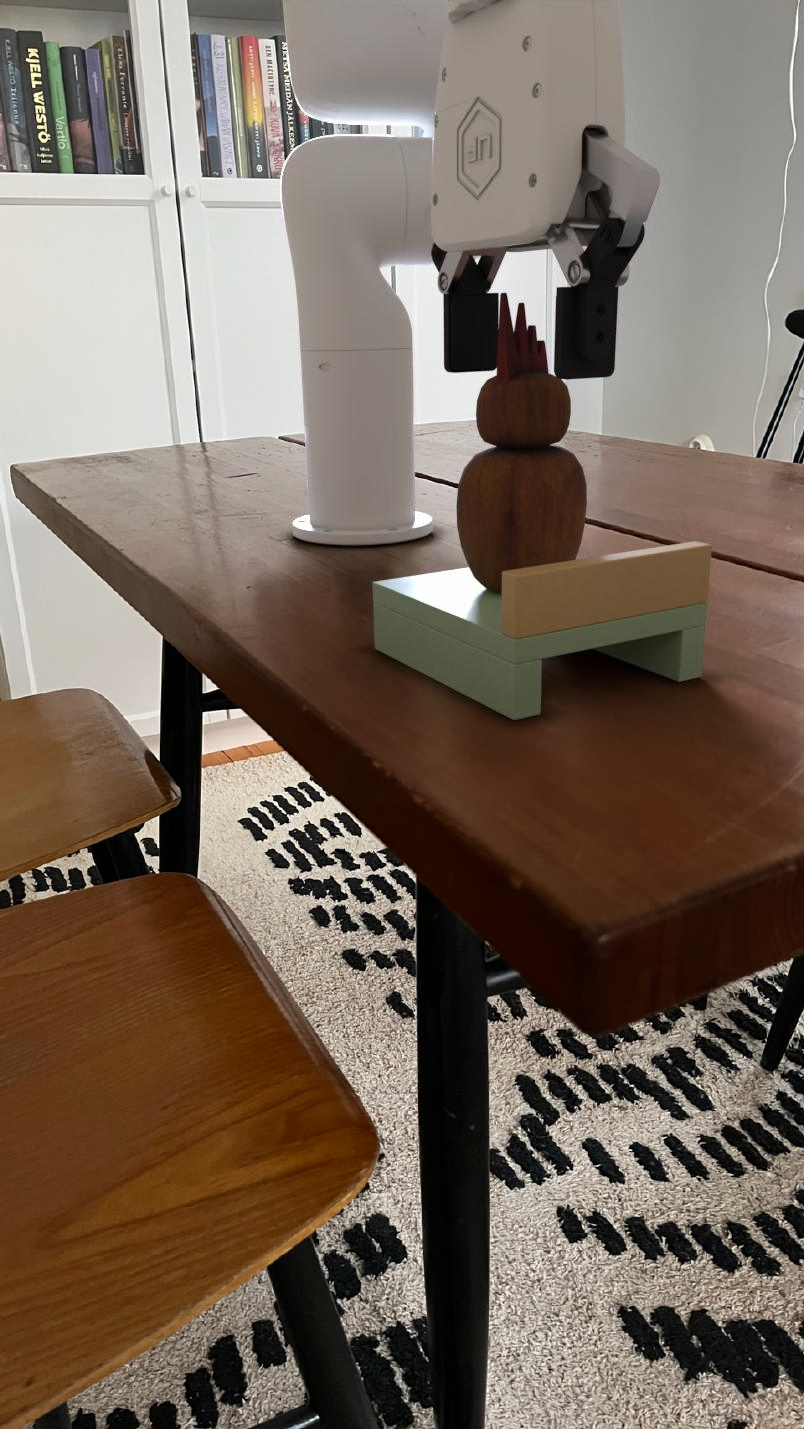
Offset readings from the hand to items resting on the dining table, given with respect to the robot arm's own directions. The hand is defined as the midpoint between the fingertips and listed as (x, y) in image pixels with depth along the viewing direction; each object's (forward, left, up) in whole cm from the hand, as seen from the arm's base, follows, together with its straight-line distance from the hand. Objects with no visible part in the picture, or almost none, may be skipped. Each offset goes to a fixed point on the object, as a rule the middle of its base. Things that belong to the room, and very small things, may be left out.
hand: (523, 374), depth 54 cm
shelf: (+1, 0, -15) cm, 15 cm away
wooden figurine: (0, 0, -11) cm, 11 cm away
